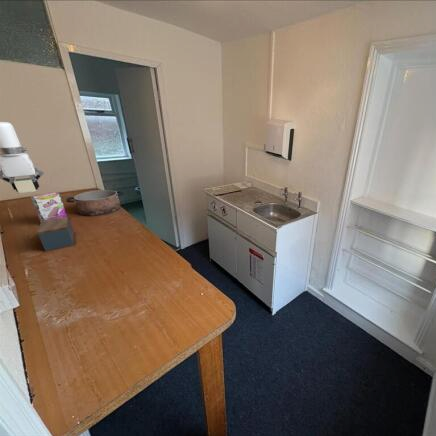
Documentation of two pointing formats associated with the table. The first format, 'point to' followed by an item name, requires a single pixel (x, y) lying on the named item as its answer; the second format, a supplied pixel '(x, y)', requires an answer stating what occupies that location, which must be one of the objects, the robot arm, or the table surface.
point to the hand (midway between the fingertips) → (27, 189)
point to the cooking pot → (97, 202)
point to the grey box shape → (56, 233)
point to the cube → (24, 185)
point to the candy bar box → (49, 206)
